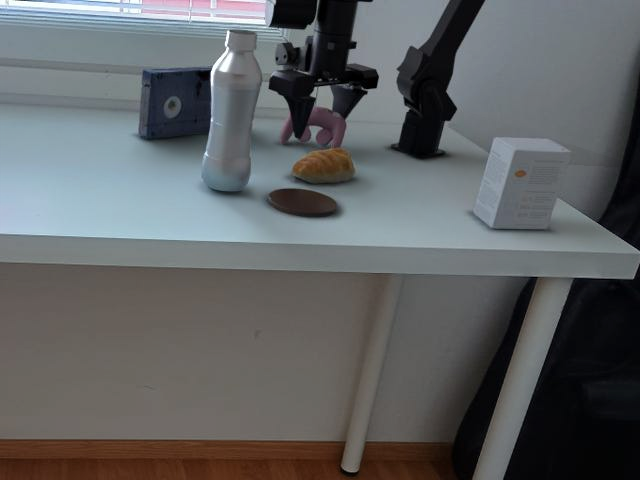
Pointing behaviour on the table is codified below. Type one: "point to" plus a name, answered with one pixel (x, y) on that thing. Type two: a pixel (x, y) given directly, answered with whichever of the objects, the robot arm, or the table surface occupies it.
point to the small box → (521, 183)
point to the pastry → (325, 166)
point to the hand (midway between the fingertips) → (315, 135)
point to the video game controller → (321, 118)
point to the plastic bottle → (232, 113)
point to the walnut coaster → (302, 202)
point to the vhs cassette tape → (175, 102)
